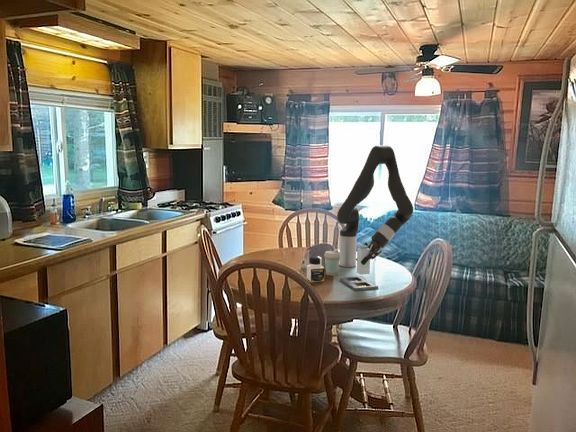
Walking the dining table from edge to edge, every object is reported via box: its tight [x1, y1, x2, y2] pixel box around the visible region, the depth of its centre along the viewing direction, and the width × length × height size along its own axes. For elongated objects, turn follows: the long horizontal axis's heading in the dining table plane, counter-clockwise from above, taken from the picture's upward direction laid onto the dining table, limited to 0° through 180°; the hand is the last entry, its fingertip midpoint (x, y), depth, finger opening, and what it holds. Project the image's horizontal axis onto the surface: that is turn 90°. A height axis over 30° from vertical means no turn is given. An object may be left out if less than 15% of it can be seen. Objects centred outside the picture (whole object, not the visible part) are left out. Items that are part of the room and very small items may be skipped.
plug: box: [356, 245, 371, 276], centre depth 228 cm, size 4×4×13 cm
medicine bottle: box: [306, 255, 325, 283], centre depth 241 cm, size 7×7×12 cm
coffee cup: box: [323, 250, 340, 277], centre depth 251 cm, size 8×8×12 cm
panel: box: [339, 275, 379, 292], centre depth 234 cm, size 18×12×2 cm, turn 18°
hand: (359, 262), depth 227 cm, fingers closed on plug, 4 cm apart
